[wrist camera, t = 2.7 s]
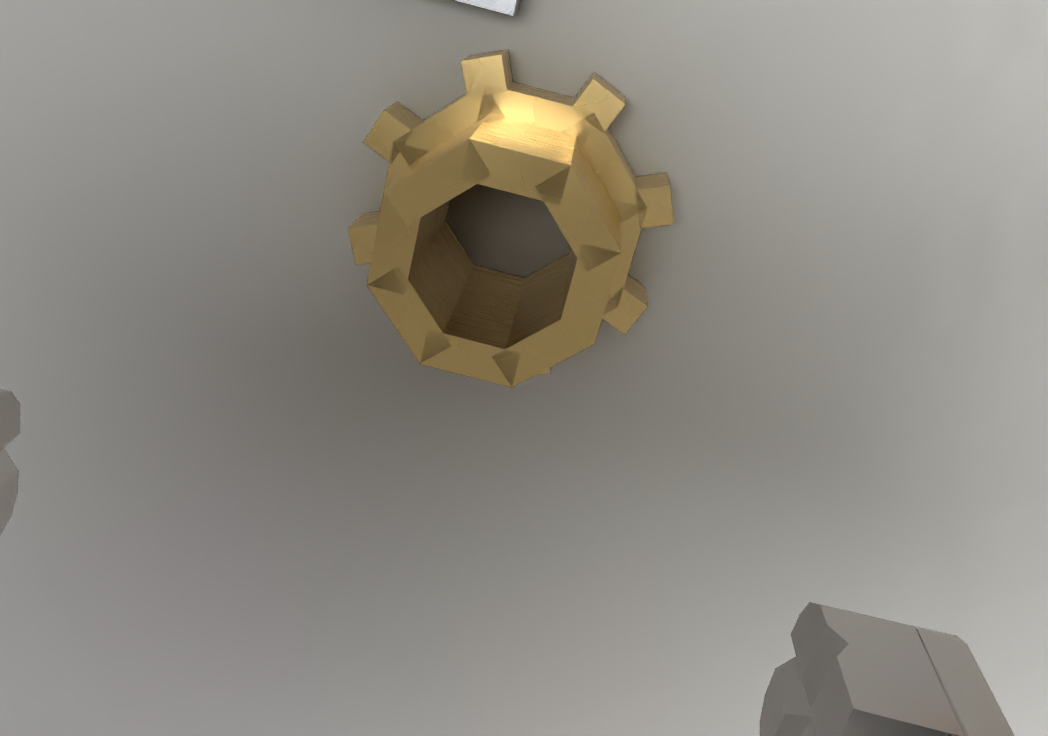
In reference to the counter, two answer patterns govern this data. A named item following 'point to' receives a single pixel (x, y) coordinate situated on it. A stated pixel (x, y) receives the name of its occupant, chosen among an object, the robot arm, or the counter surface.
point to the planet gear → (521, 168)
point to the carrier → (496, 5)
